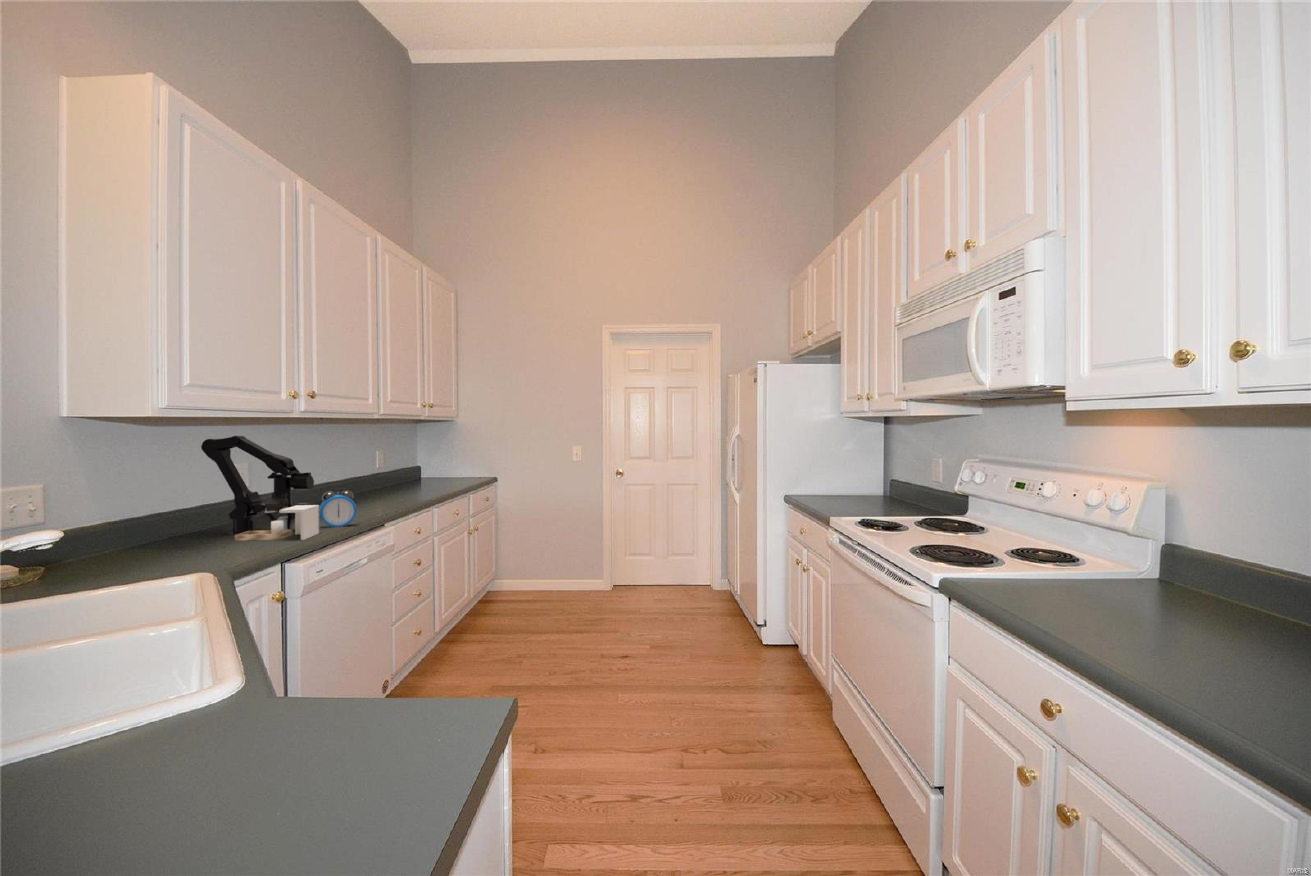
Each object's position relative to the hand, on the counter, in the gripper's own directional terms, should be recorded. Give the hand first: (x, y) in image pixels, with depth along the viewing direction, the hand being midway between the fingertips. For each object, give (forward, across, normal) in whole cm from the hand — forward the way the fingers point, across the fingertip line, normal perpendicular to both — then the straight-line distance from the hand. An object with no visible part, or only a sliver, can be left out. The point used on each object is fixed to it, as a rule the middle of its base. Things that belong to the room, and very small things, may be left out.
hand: (282, 529), depth 210 cm
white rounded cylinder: (+1, +4, -13) cm, 14 cm away
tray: (+1, 0, -13) cm, 13 cm away
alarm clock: (+1, +16, +10) cm, 19 cm away
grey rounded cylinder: (+1, 0, 0) cm, 1 cm away
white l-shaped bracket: (+1, +12, -13) cm, 18 cm away
